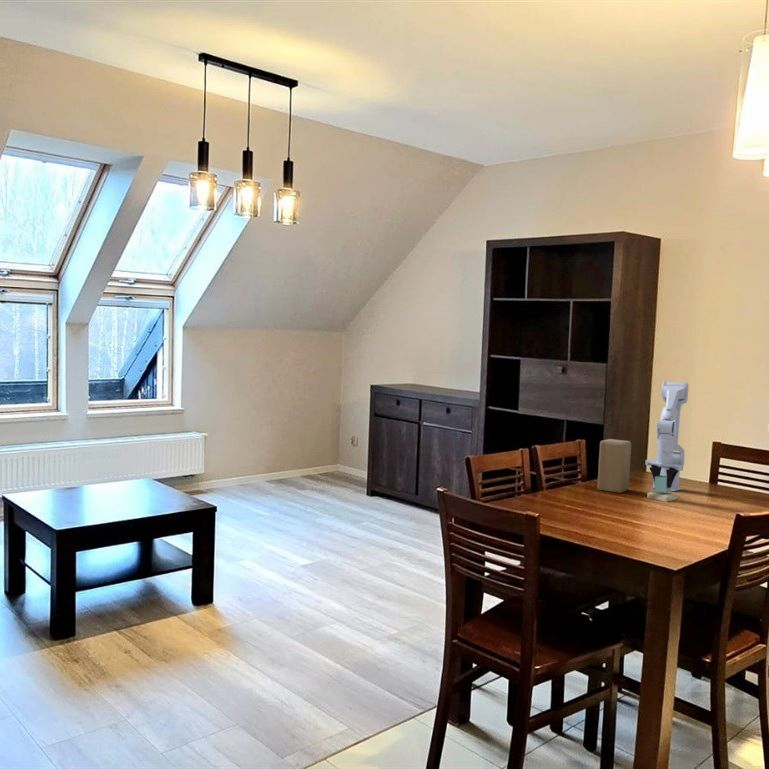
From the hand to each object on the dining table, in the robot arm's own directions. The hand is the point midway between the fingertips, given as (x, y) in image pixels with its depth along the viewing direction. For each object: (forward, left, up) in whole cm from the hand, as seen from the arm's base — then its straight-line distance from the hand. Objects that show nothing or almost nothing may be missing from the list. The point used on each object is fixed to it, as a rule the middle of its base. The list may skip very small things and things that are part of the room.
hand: (662, 486), depth 295 cm
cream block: (0, 0, -5) cm, 5 cm away
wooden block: (-20, -2, -5) cm, 21 cm away
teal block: (0, 0, -2) cm, 2 cm away
